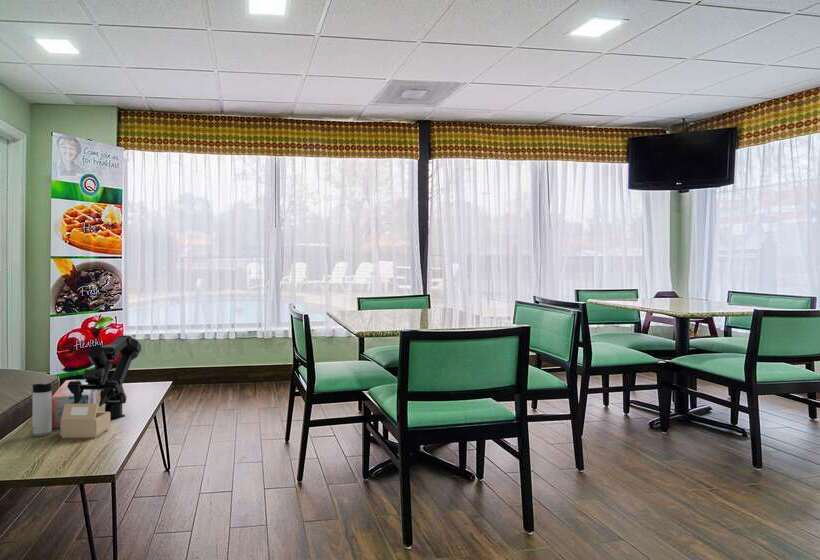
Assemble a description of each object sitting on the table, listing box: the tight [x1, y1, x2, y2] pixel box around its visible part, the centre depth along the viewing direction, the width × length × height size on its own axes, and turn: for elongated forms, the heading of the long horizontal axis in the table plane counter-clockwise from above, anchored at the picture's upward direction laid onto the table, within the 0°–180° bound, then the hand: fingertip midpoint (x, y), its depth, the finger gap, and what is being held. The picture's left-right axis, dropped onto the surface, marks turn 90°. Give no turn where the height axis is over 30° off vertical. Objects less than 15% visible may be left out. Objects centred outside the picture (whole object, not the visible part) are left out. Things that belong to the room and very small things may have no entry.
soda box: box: [52, 378, 99, 429], centre depth 258 cm, size 41×14×13 cm, turn 23°
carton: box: [59, 411, 111, 439], centre depth 230 cm, size 13×13×7 cm
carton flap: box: [61, 403, 99, 420], centre depth 225 cm, size 6×12×1 cm
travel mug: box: [31, 383, 53, 438], centre depth 228 cm, size 6×7×20 cm
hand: (87, 405), depth 231 cm, fingers open, 9 cm apart
